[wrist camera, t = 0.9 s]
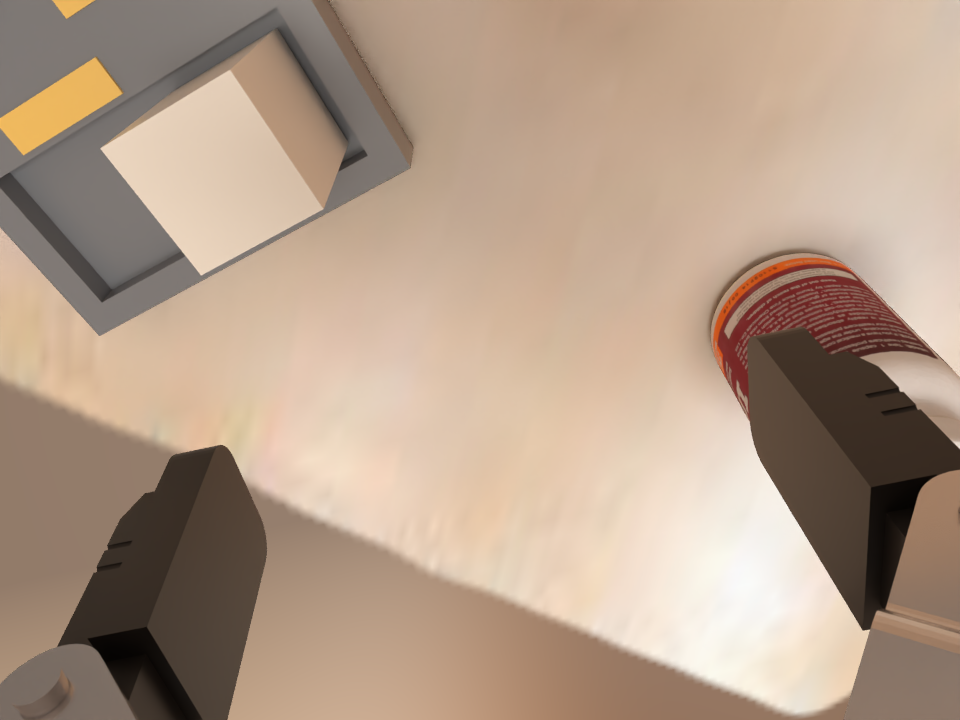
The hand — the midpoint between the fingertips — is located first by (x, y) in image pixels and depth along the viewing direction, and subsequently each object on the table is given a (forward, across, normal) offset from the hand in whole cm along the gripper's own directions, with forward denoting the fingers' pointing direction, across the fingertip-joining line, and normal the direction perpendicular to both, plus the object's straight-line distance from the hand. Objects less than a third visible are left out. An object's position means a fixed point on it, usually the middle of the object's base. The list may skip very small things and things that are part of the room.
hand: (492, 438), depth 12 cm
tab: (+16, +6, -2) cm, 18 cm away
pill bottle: (+18, -11, +10) cm, 23 cm away
